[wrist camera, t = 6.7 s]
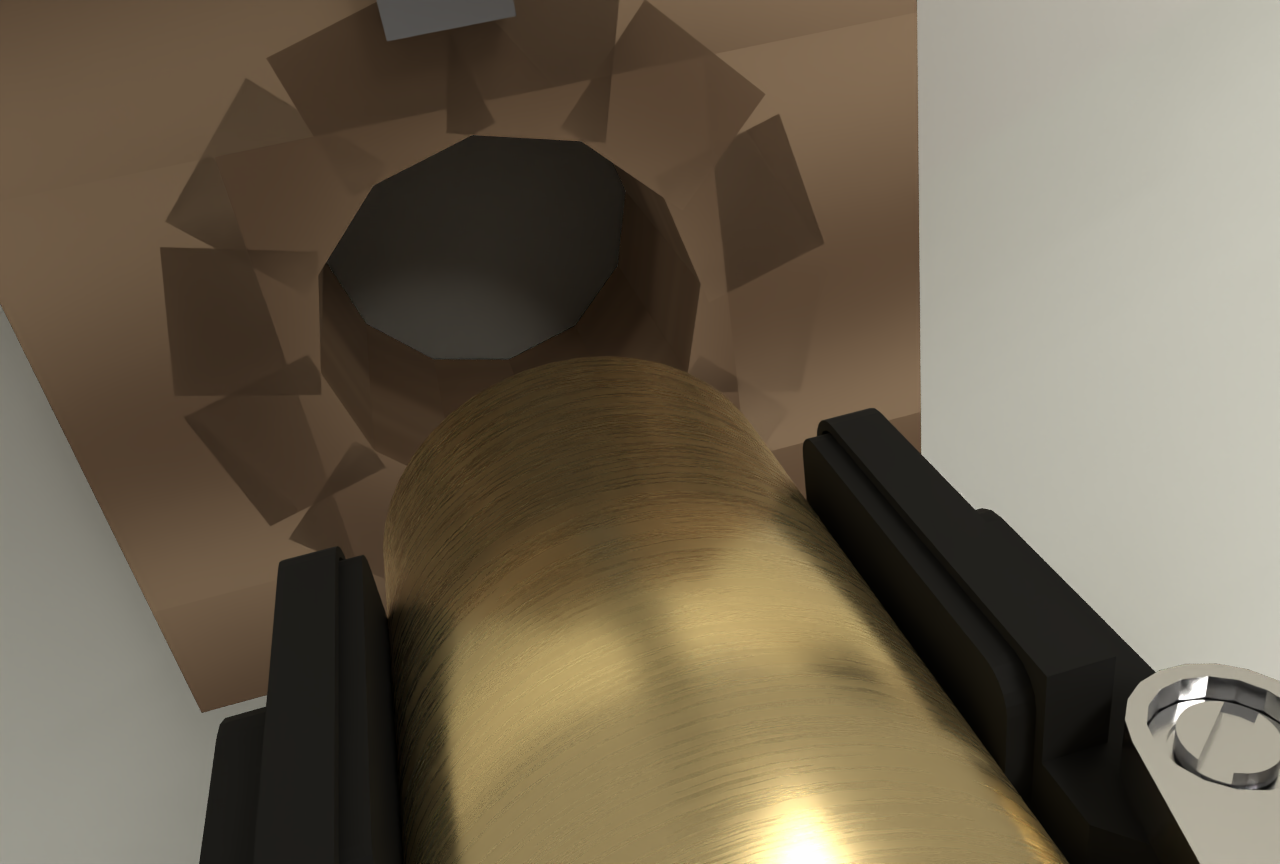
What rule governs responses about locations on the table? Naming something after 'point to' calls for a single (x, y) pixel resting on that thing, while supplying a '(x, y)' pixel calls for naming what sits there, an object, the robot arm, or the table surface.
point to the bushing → (657, 650)
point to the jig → (333, 193)
